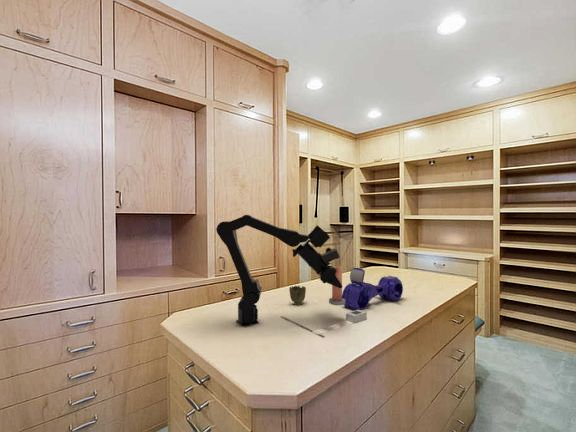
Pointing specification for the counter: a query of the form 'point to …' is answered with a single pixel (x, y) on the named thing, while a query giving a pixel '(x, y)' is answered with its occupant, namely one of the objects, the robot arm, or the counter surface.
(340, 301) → the marker peg
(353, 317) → the gray rectangular block
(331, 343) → the counter surface
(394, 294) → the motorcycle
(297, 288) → the cup
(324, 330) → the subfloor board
